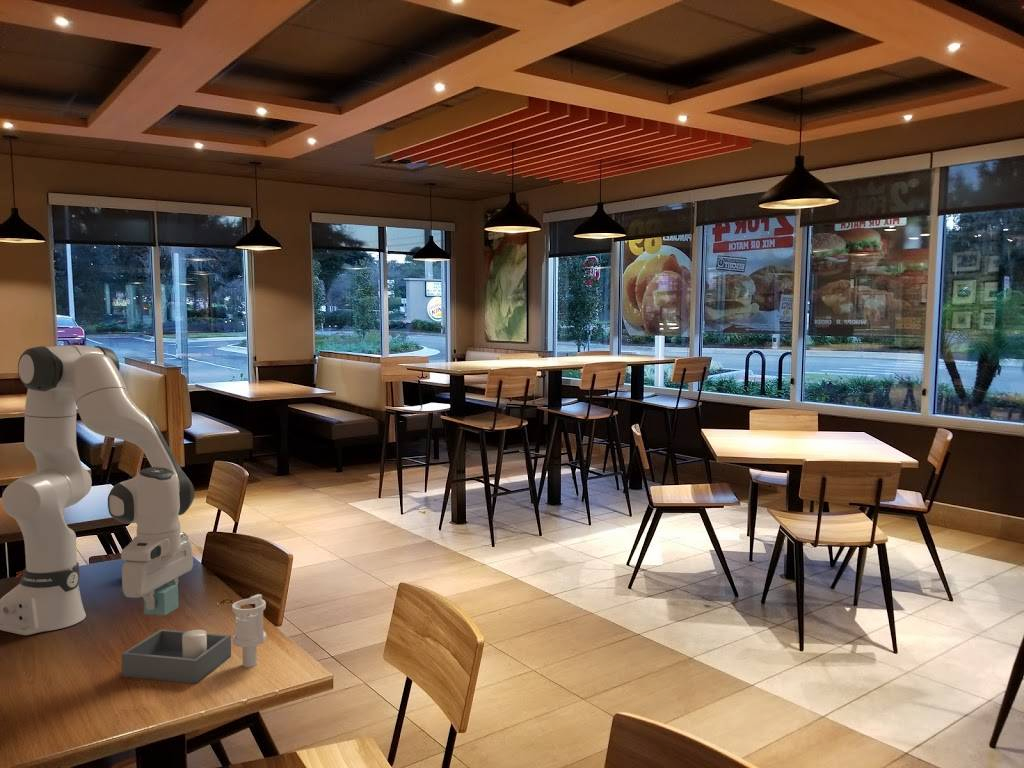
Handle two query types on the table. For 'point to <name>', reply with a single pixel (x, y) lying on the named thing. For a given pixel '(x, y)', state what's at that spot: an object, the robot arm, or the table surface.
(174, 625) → the table surface
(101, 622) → the table surface
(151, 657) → the tote
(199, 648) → the cream capsule
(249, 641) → the grey slotted cylindrical housing
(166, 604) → the teal cube
